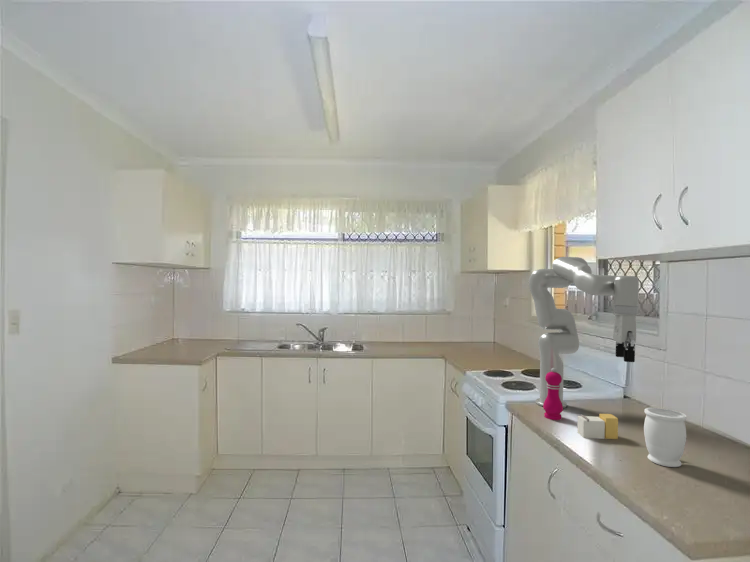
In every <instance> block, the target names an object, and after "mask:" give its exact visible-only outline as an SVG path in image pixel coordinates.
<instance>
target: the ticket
mask: <svg viewBox="0 0 750 562" xmlns="http://www.w3.org/2000/svg"><path fill="white" fill-rule="evenodd" d="M577 434H579V435H580V437H582V438H583V439H602V440H603V439H604V440H605V438H604V436H605V421H604V420H602V419H601V418H599V416H591V415H589V416H588V415H584V414H580V415H577Z"/></svg>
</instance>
